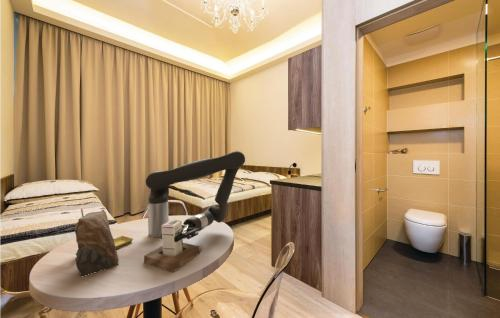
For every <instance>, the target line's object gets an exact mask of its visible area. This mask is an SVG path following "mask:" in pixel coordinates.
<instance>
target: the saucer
mask: <svg viewBox="0 0 500 318" xmlns="http://www.w3.org/2000/svg"><path fill="white" fill-rule="evenodd" d="M113 240H114V244H115V247H116V249H119V248H121V247H123V246H126V245H129V244H131V243H132V242H133V240H134V238H133V237H128V236H125V235H121V236H118V237H115V238H113Z"/></svg>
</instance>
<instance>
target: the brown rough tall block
mask: <svg viewBox="0 0 500 318" xmlns="http://www.w3.org/2000/svg"><path fill="white" fill-rule="evenodd" d="M107 215H108V214H107V212H106V210H105V209H102V210H100V211H95V212H94V211H93V212H88V213H86V214H85V215H84V216H83V217H82V216H81V217H80V218H78V219H77V220H78V221H79V224H78V226H77V230H76V234H75V238H76V244H77V248H78V249H77V251H76V253H75V255H76V258H75V260H74V261H75V266H76V268H77V270H78V271H79V273H80V277H81V276H84V277H86V276H85V275H87V276H89V275H88V274H90V275H92V274H91V273H93V274H95V273H94V272H97V273H99V272H101V271H100V270H102V271H104V269H105V270H109V269H112V268H114V267H117V266H119V256H118V254H117V248H116V247H115V244H114V240H113V239H114V237H113V235H112V231H111V228H110V223H109V218H108V216H107ZM78 221H77V222H78ZM111 267H112V268H111ZM98 271H99V272H98Z"/></svg>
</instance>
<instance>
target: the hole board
mask: <svg viewBox="0 0 500 318" xmlns="http://www.w3.org/2000/svg"><path fill="white" fill-rule="evenodd" d="M200 249H201V247H200V245H195V244H190V243H188V242H183V251H182V252H181V253H179V254H178V255H176V256H174V257H169V256H166V255H163V245H162V246H159V247H158V248H156V249H153V250H152V251H150V252H148V253H146V254H144V255H143V263H144V264H147V265H149V266H153V267H155V268H158V269H162V270H164V271H168V272H171V273H174V272H175V271H177V270H179V268H181V267H182V266H184V265H185V264H186V263H188V262H190V261H191V260H193V259H194V258H195V257H197V256H198V255H200V253H201V250H200Z"/></svg>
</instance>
